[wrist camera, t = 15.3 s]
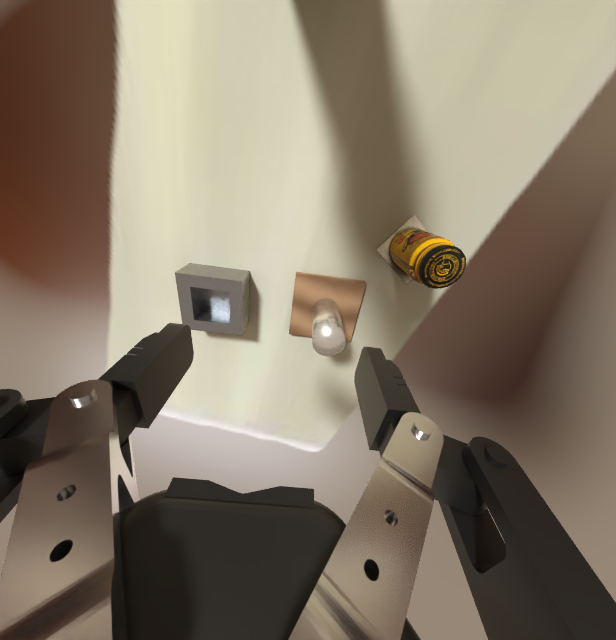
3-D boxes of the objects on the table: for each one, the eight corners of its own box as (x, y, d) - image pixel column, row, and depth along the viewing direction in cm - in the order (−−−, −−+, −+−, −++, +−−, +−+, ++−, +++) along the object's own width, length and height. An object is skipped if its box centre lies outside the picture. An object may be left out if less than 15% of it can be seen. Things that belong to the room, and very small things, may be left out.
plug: (315, 296, 41) (315, 326, 32) (341, 300, 41) (349, 331, 33) (310, 319, 43) (309, 353, 35) (335, 323, 44) (341, 358, 35)
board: (296, 271, 40) (295, 274, 39) (364, 281, 41) (366, 283, 40) (289, 330, 46) (289, 333, 45) (349, 337, 47) (350, 341, 46)
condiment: (414, 214, 36) (456, 225, 25) (443, 253, 38) (492, 277, 28) (375, 249, 38) (400, 272, 28) (406, 283, 41) (438, 316, 31)
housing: (189, 263, 40) (174, 272, 35) (249, 271, 40) (241, 281, 36) (195, 314, 44) (183, 328, 40) (248, 321, 45) (242, 335, 41)
